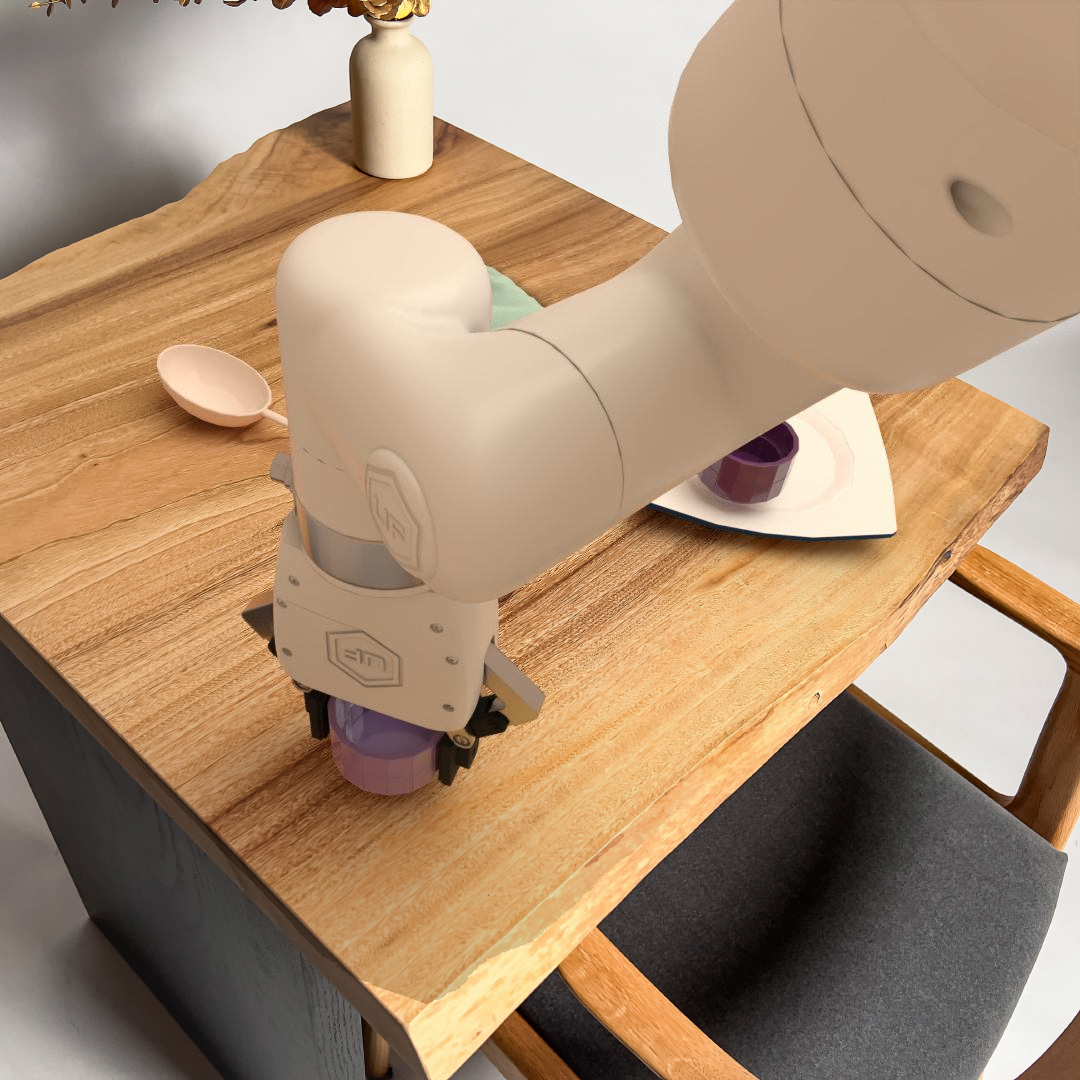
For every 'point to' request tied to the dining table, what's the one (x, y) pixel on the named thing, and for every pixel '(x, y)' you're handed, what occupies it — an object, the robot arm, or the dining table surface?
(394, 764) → the lavender bowl
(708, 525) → the plate
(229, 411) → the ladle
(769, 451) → the plum bowl
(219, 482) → the dining table surface
